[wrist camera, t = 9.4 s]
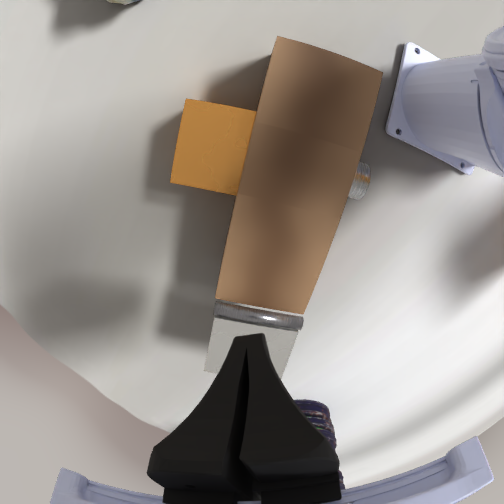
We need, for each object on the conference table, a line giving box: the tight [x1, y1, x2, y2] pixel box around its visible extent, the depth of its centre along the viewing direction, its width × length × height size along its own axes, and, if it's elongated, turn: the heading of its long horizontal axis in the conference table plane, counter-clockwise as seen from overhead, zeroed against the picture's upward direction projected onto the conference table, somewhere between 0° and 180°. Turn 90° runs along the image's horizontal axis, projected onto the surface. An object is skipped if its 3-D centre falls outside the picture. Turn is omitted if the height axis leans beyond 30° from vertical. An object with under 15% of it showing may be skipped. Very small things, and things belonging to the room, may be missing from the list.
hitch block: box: [215, 36, 383, 314], centre depth 17 cm, size 6×16×5 cm, turn 167°
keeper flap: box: [204, 301, 303, 379], centre depth 19 cm, size 6×6×1 cm
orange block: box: [170, 99, 371, 200], centre depth 17 cm, size 12×5×4 cm, turn 77°
